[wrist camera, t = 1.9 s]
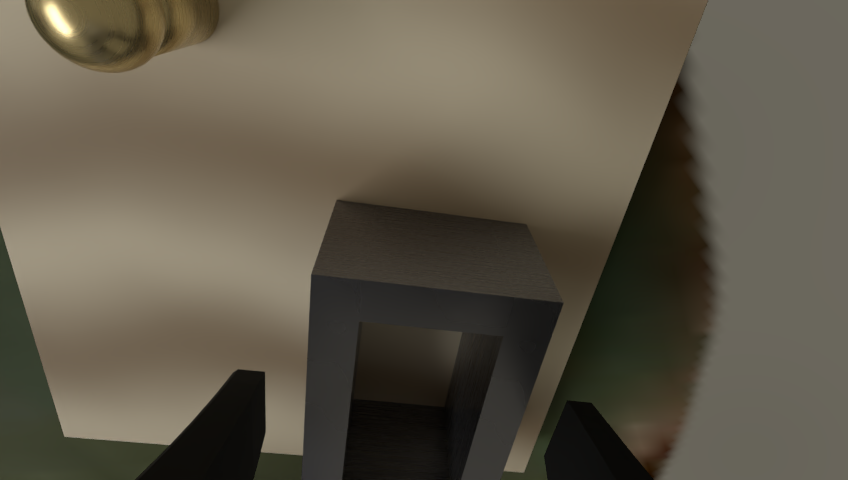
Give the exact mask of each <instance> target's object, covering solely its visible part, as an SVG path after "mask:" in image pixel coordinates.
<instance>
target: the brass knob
mask: <svg viewBox="0 0 848 480" xmlns="http://www.w3.org/2000/svg"><path fill="white" fill-rule="evenodd" d="M24 1H25V6H26V10H27V13H28V16H29V18H30V20H31V22H32V24H33V26H34V28H35V29H36V31H37V32H38V34H39V35H40V36H41V37H42V39H43V40H44V41H45V42H46V43H47V44H48V45H49V46H50V47H51V48H52V49H53V50H54V51H55V52H56V53H58V54H59V55H61V56H62V57H63V58H65V59H67V60H69V61H70V62H72V63H74V64H76V65H78V66H80V67H83V68H86V69H89V70H93V71H97V72H104V73H121V72H126V71H131V70H134V69H136V68H139V67H141V66H142V65H144V64H146V63H147V62H148V61H150V60H151V59H152V58H153V57H154V56H158V55H161V54H164V53H168V52H171V51H175V50H178V49H181V48H185V47H188V46H192V45H195V44H198V43H201V42H203V41H205V40H207V39H208V38H209V37H210V36H211V35H212V34H213V32H214V31H215V29H216V27H217V24H218V21H219V3H218V0H24Z"/></svg>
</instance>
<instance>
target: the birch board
mask: <svg viewBox="0 0 848 480" xmlns="http://www.w3.org/2000/svg"><path fill="white" fill-rule="evenodd" d="M707 2H708V0H218V3H219V21H218V24H217V27H216V29H215V31H214V32H213V34H212V35H211V36H210V37H209V38H208V39H207V40H205V41H203V42H201V43H198V44H195V45H192V46H188V47H185V48H181V49H178V50H175V51H171V52H168V53H164V54H161V55H158V56H154V57H153V58H152V59H151V60H150V61H148V62H147V63H146V64H144V65H142V66H141V67H139V68H136V69H134V70H131V71H126V72H121V73H104V72H97V71H93V70H89V69H86V68H83V67H80V66H78V65H76V64H74V63H72V62H70V61H69V60H67V59H65V58H63V57H62V56H61V55H59V54H58V53H56V52H55V51H54V50H53V49H52V48H51V47H50V46H49V45H48V44H47V43H46V42H45V41H44V40H43V39H42V37H41V36H40V35H39V34H38V32H37V31H36V29H35V28H34V26H33V24H32V22H31V20H30V18H29V16H28V13H27V10H26V6H25V1H24V0H0V227H1V231H2V234H3V237H4V240H5V244H6V247H7V250H8V253H9V257H10V260H11V263H12V267H13V270H14V273H15V276H16V280H17V283H18V286H19V289H20V293H21V296H22V299H23V303H24V306H25V309H26V312H27V316H28V319H29V322H30V325H31V329H32V332H33V335H34V338H35V342H36V345H37V348H38V352H39V355H40V358H41V361H42V365H43V368H44V371H45V374H46V378H47V381H48V384H49V388H50V391H51V394H52V397H53V401H54V404H55V407H56V410H57V414H58V417H59V420H60V423H61V427H62V430H63V433H64V437H75V438H87V439H100V440H113V441H126V442H139V443H151V444H164V445H170V444H171V443H172V442H173V441H174V440H175V439H176V438H177V437H178V436H179V435H180V434H181V432H182V431H183V430H184V429H185V428H186V427H187V426H188V425H189V424H190V423H191V422H192V421H193V420H194V418H195V417H196V416H197V415H198V414H199V413H200V412H201V410H202V409H203V408H204V407H205V406H206V405H207V404H208V402H209V401H210V400H211V399H212V398H213V397H214V395H215V394H216V393H217V392H218V391H219V389H220V388H221V387H222V386H223V384H224V383H225V382H226V381H227V379H228V378H229V377H230V376H231V374H232V373H233V372H234V371H236V370H237V369H242V370H252V371H263V372H265V406H266V433H265V437H264V441H263V445H262V449H261V452H267V453H280V454H292V455H303V440H304V418H305V396H306V374H307V352H308V331H309V309H310V287H311V273H312V270H313V267H314V264H315V261H316V258H317V256H318V253H319V250H320V247H321V244H322V241H323V238H324V235H325V232H326V229H327V226H328V223H329V220H330V217H331V215H332V212H333V209H334V206H335V203H336V200H342V201H350V202H358V203H366V204H373V205H381V206H389V207H397V208H405V209H412V210H420V211H428V212H436V213H444V214H451V215H459V216H467V217H475V218H483V219H491V220H498V221H506V222H514V223H522V224H527V226H528V228H529V230H530V233H531V235H532V237H533V239H534V241H535V243H536V245H537V247H538V249H539V252H540V254H541V256H542V258H543V260H544V262H545V264H546V266H547V268H548V271H549V273H550V275H551V277H552V279H553V281H554V283H555V285H556V287H557V290H558V292H559V294H560V296H561V298H562V300H563V302H564V304H563V306H562V309H561V312H560V315H559V318H558V320H557V323H556V326H555V329H554V332H553V334H552V337H551V340H550V343H549V345H548V348H547V351H546V354H545V357H544V359H543V362H542V365H541V368H540V371H539V373H538V376H537V379H536V382H535V385H534V387H533V390H532V393H531V396H530V399H529V401H528V404H527V407H526V410H525V412H524V415H523V418H522V421H521V424H520V426H519V429H518V432H517V435H516V438H515V440H514V443H513V446H512V449H511V452H510V454H509V457H508V460H507V463H506V466H505V468H504V471H510V472H523V473H524V471H525V468H526V466H527V463H528V461H529V458H530V455H531V453H532V450H533V448H534V445H535V443H536V440H537V437H538V435H539V432H540V430H541V427H542V425H543V422H544V420H545V417H546V414H547V412H548V409H549V407H550V404H551V402H552V399H553V396H554V394H555V391H556V389H557V386H558V384H559V381H560V379H561V376H562V373H563V371H564V368H565V366H566V363H567V361H568V358H569V356H570V353H571V350H572V348H573V345H574V343H575V340H576V338H577V335H578V332H579V330H580V327H581V325H582V322H583V320H584V317H585V315H586V312H587V309H588V307H589V304H590V302H591V299H592V297H593V294H594V291H595V289H596V286H597V284H598V281H599V279H600V276H601V274H602V271H603V268H604V266H605V263H606V261H607V258H608V256H609V253H610V251H611V248H612V245H613V243H614V240H615V238H616V235H617V233H618V230H619V227H620V225H621V222H622V220H623V217H624V215H625V212H626V210H627V207H628V204H629V202H630V199H631V197H632V194H633V192H634V189H635V186H636V184H637V181H638V179H639V176H640V174H641V171H642V169H643V166H644V163H645V161H646V158H647V156H648V153H649V151H650V148H651V146H652V143H653V140H654V138H655V135H656V133H657V130H658V128H659V125H660V122H661V120H662V117H663V115H664V112H665V110H666V107H667V105H668V102H669V99H670V97H671V94H672V92H673V89H674V87H675V84H676V81H677V79H678V76H679V74H680V71H681V69H682V66H683V64H684V61H685V58H686V56H687V53H688V51H689V48H690V46H691V43H692V41H693V38H694V35H695V33H696V30H697V28H698V25H699V23H700V20H701V17H702V15H703V12H704V10H705V7H706V5H707ZM461 336H462V332H457V331H447V330H438V329H428V328H419V327H409V326H400V325H390V324H381V323H371V322H362V330H361V339H360V348H359V357H358V365H357V374H356V383H355V392H354V399H362V400H373V401H384V402H395V403H406V404H417V405H428V406H440V407H444V406H445V402H446V397H447V393H448V389H449V385H450V381H451V377H452V373H453V369H454V364H455V360H456V356H457V352H458V348H459V344H460V340H461Z"/></svg>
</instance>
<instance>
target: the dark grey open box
mask: <svg viewBox="0 0 848 480" xmlns="http://www.w3.org/2000/svg"><path fill="white" fill-rule="evenodd" d="M563 304H564V302H563V300H562V298H561V296H560V294H559V292H558V290H557V287H556V285H555V283H554V281H553V279H552V277H551V275H550V273H549V271H548V268H547V266H546V264H545V262H544V260H543V258H542V256H541V254H540V252H539V249H538V247H537V245H536V243H535V241H534V239H533V237H532V235H531V233H530V230H529V228H528V226H527V224H522V223H514V222H506V221H498V220H491V219H483V218H475V217H467V216H459V215H451V214H444V213H436V212H428V211H420V210H412V209H405V208H397V207H389V206H381V205H373V204H366V203H358V202H350V201H342V200H336V203H335V206H334V209H333V212H332V215H331V217H330V220H329V223H328V226H327V229H326V232H325V235H324V238H323V241H322V244H321V247H320V250H319V253H318V256H317V258H316V261H315V264H314V267H313V270H312V273H311V287H310V309H309V331H308V352H307V374H306V396H305V418H304V440H303V461H302V480H500V479H501V477H502V474H503V471H504V468H505V466H506V463H507V460H508V457H509V454H510V452H511V449H512V446H513V443H514V440H515V438H516V435H517V432H518V429H519V426H520V424H521V421H522V418H523V415H524V412H525V410H526V407H527V404H528V401H529V399H530V396H531V393H532V390H533V387H534V385H535V382H536V379H537V376H538V373H539V371H540V368H541V365H542V362H543V359H544V357H545V354H546V351H547V348H548V345H549V343H550V340H551V337H552V334H553V332H554V329H555V326H556V323H557V320H558V318H559V315H560V312H561V309H562V306H563ZM362 322H371V323H381V324H390V325H400V326H409V327H419V328H428V329H438V330H447V331H457V332H462V336H461V340H460V344H459V348H458V352H457V356H456V360H455V364H454V369H453V373H452V377H451V381H450V385H449V389H448V393H447V397H446V402H445V406H444V407H440V406H428V405H417V404H406V403H395V402H384V401H373V400H362V399H354V392H355V383H356V374H357V365H358V357H359V348H360V339H361V330H362Z"/></svg>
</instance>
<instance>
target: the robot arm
mask: <svg viewBox="0 0 848 480" xmlns="http://www.w3.org/2000/svg"><path fill="white" fill-rule="evenodd" d="M265 433H266V406H265V372H263V371H252V370H242V369H237V370H236V371H234V372H233V373H232V374H231V376H230V377H229V378H228V379H227V381H226V382H225V383H224V384H223V386H222V387H221V388H220V389H219V391H218V392H217V393H216V394H215V395H214V397H213V398H212V399H211V400H210V401H209V402H208V404H207V405H206V406H205V407H204V408H203V409H202V410H201V412H200V413H199V414H198V415H197V416H196V417H195V418H194V420H193V421H192V422H191V423H190V424H189V425H188V426H187V427H186V428H185V429H184V430H183V431H182V432H181V434H180V435H179V436H178V437H177V438H176V439H175V440H174V441H173V442H172V443H171V444H170V445H169V446H168V447H167V448H166V450H165V451H164V452H163V453H162V454H161V455H160V456H159V457H158V458H157V459H156V460H155V461H154V462H153V463H151V464H150V465H149V466H148V467H147V468H146V469H145V470H144V471H143V472H142V473H141V474H140V475H139V476H138V477H137V478H136V479H135V480H253V478H254V475H255V471H256V468H257V464H258V460H259V457H260V453H261V449H262V445H263V441H264V437H265ZM544 458H545V464H546V471H547V478H548V480H654V479H653V478H652V477H651V476H650V475H649V473H648V472H647V471H646V470H645V469H644V467H643V466H642V465H641V464H640V462H639V461H638V460H637V459H636V458H635V456H634V455H633V454H632V453H631V451H630V450H629V449H628V448H627V446H626V445H625V444H624V443H623V442H622V440H621V439H620V438H619V437H618V435H617V434H616V433H615V432H614V430H613V429H612V428H611V427H610V425H609V424H608V423H607V422H606V420H605V419H604V418H603V417H602V415H601V414H600V413H599V412H598V410H597V409H596V408H595V407H594V406H593V404H592V403H587V402H577V401H567V402H566V405H565V407H564V409H563V412H562V414H561V417H560V419H559V421H558V424H557V426H556V429H555V431H554V433H553V436H552V438H551V441H550V443H549V445H548V448H547V450H546V453H545V455H544Z"/></svg>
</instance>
